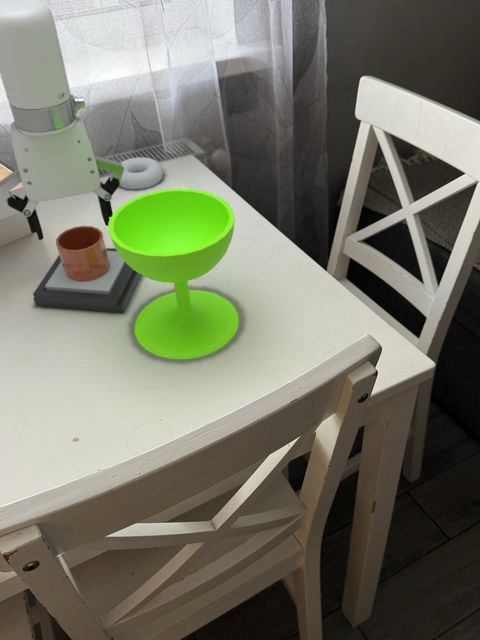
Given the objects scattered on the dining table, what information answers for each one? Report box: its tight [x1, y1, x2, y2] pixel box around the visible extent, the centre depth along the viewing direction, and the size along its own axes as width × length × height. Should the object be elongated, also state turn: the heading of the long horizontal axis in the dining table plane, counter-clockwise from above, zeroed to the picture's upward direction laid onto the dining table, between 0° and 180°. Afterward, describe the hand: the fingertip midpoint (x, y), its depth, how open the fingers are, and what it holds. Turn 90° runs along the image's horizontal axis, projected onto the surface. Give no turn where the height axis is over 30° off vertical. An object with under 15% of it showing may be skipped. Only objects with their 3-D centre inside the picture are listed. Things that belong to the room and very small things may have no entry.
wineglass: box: [107, 188, 240, 360], centre depth 82 cm, size 16×16×18 cm
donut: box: [119, 156, 164, 191], centre depth 119 cm, size 10×4×10 cm
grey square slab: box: [45, 251, 126, 295], centre depth 93 cm, size 10×10×2 cm
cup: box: [55, 225, 110, 282], centre depth 90 cm, size 7×7×6 cm
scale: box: [32, 247, 143, 314], centre depth 94 cm, size 14×13×4 cm
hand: (73, 228), depth 87 cm, fingers open, 9 cm apart
